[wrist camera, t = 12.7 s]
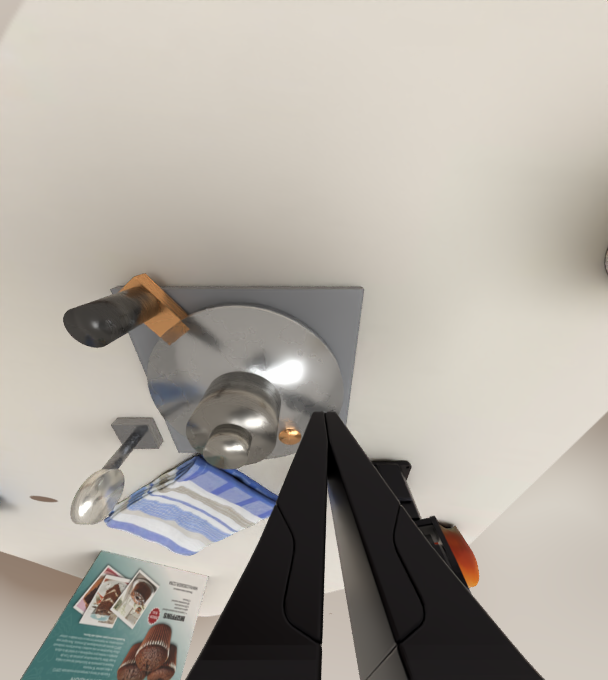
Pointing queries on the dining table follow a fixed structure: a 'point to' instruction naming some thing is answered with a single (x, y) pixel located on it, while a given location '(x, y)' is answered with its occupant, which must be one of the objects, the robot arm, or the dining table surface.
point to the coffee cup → (606, 261)
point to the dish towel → (193, 507)
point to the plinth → (301, 302)
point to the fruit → (462, 555)
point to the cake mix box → (123, 624)
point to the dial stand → (113, 471)
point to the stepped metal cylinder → (235, 420)
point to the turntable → (218, 353)
